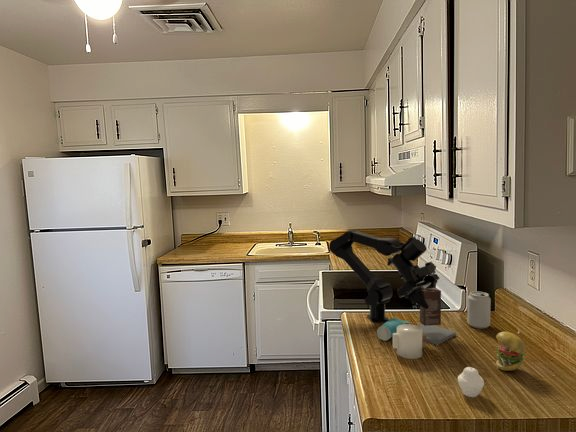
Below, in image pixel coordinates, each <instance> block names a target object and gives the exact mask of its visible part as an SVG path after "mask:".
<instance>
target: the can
mask: <svg viewBox="0 0 576 432" xmlns="http://www.w3.org/2000/svg"><path fill="white" fill-rule="evenodd" d="M491 302H492V299H491V297H490V295H489V293H487V292H483V291H479V290H478V291H477V290H476V291H470V292H469V295H468V296H467V320H466V321H467V324H468V325H469V326H470V327H472V328H475V329H480V330H482V329H487V328H488V327H489V326H491V306H492V304H491Z"/></svg>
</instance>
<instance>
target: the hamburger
mask: <svg viewBox="0 0 576 432" xmlns="http://www.w3.org/2000/svg"><path fill="white" fill-rule="evenodd" d="M517 334H520V329H518V330H517ZM517 334H515V333H513V332H510V331H500V332H498V333H497V334H496V336H495V338H496V339H497V341H498V343H497V344H499V347H497V348H496V350H497V354H496V356H497V360H496V363H495V365H496V366H497V368H498V369H500V370H501V371H505V372H506V371H507V372H509V371H515V370H517V369H519V368H520V367H521V366H522V365H523V361H524V356H525V353H524V352H525V351H526V345H525V343H524V341H523V340H522V338H520V337H519V336H518V335H517Z"/></svg>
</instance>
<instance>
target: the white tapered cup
mask: <svg viewBox="0 0 576 432" xmlns="http://www.w3.org/2000/svg"><path fill="white" fill-rule="evenodd" d="M392 348H393V349H394V350H395V349H396V354H397V356H399V357H401V358H403V359H408V360H409V359H410V360H414V359H415V360H416V359H420V358H421V357H422V356H423V348H422V328H421V327H419V326H418V325H417V324H416V325H415V324H412V323H411V324H410V323H409V324H402V325H399V326H397V333H393V337H392Z"/></svg>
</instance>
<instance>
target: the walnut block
mask: <svg viewBox="0 0 576 432" xmlns="http://www.w3.org/2000/svg"><path fill="white" fill-rule="evenodd" d="M427 347H428V342H427V335H426V334H424V333H422V349H423V348H427Z"/></svg>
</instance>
